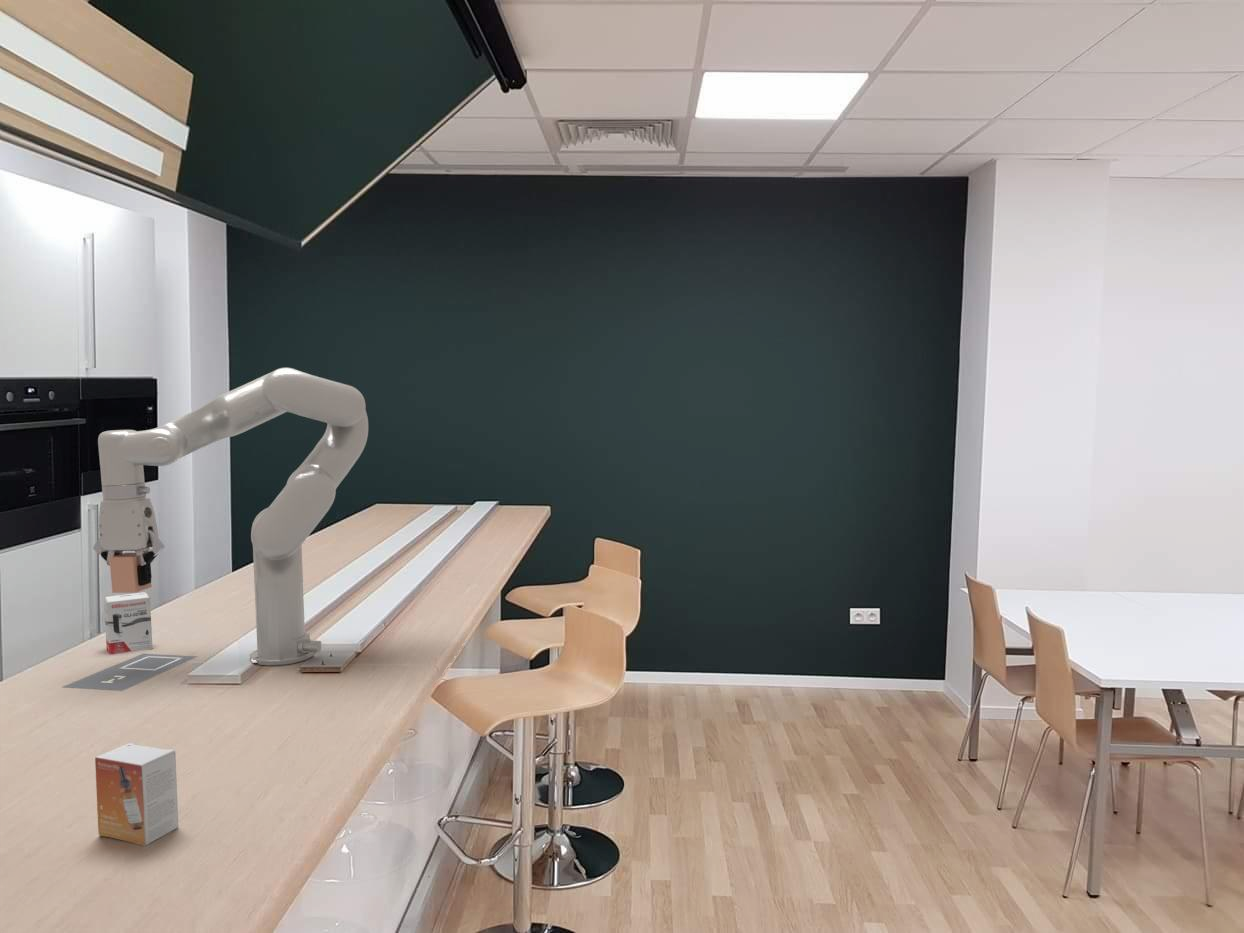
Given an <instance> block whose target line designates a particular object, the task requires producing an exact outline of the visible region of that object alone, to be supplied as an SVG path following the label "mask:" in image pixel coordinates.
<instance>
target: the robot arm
mask: <svg viewBox="0 0 1244 933" xmlns="http://www.w3.org/2000/svg"><path fill="white" fill-rule="evenodd" d="M366 409H367V408H366V401H365V397H364V396H363V394H362V393H361V391H360V390H358V389H357V388H356V387H354V386H352V385H350V384H345V383H342V382H338V381H335V380H331V379H327V378H324V377H319V376H317V375H313V374H309V373H307V372H303V371H301V370H297V369H296V368H292V367H280V368H277V369H275V370H273V371H271V372H269V373H267V374H264V375H262V376H260V377H257V378H256V379H253V380H252V381H249V382H247V383H245V384H243V385H240V386H239V387H236V388H234V389H232V390H229V391H227V392H225V393H223V394H221V395H218V396H217V397H215V398H213V399H212V400H211V401H210V402H207V404H205V405H203V406H201V407H199V408H197V409H195V410H193V411H191V412H189V413H187V414H184V415H182V416H180V417H178V418H176V419H174V420H171V421H169V422H167V423H165V424H162V425H160V426H158V427H155V428H151V429H146V430H138V431H137V430H134V429H116V430H115V429H114V430H113V429H112V430H106V431H103V432H101V433H100V434H99V435H98V438H97V445H98V446H97V447H98V456H99V458H98V459H99V466H100V467H99V468H100V479H101V480H100V481H101V492H102V500H101V501H100V504H99V512H98V513H99V514H98V536H99V538H98V539H97V541H96V542H95V544H93V551H95V552H96V553H97V554H98V555H100V557H101V558H102V559H103V560H104V561H105V562H106V565H107V566H109V567H110V560H109V557H113V556H116V555H120V554H123V553H124V552H134V553H136V556H137V558H138V561H139V564H140V565H139V566H137V572H138V584H139V586H143V585H146V584H149V583H151V584H152V566H151V564H152V563H153V562H154V560H155V558H156V557H157V556H158V554H161V552H162V551H163V550H164V549H165V544H164V543H163V542H162V541H161V540H160V539H159V530H158V525H157V524H158V523H157V517H156V515H155V514H156V513H155V510H154V506H153V504H152V503H153V502H152V500H151V498H147V494H150V492H151V488H150V487H149V486H146V482H145V472H144V466H154V467H166V466H170V465H172V464H174V463H175V462H176V461H178V460H179V459H181V458H184V457H185V456H188V455H189V454H191V453H194V452H195V451H198V450H200V449H202V448H204V447H206V446H209V445H211V444H213V443H216V442H219V441H220V440H223V439H227V438H231V437H236V436H237V435H240V434H242V433H245V432H247V431H249V430H251V429H253V428H255V427H258V426H259V425H262V424H264V423H265V422H268V421H271V420H272V419H275V418H276V417H278V416H281V415H283V414H285V413H291V414H294V415H297V416H300V417H303V418H304V417H305V418H308V419H312V420H314V421H315V420H316V421H319V422H323V423H326V425H327V426H326V429H325V432H324V434H323V435H322V437H321V438H320V440H319V441H318V442H317V443H316V445H315V447H314V448H313V450H311V452H310V453H309V454H308V456H307V457H306V458H305V459H304V461H303V462H302V463H301V464H300V465H299V467H297V469H295V470H294V471H293V472H292V473H291V475H290V476H289V477H288V479H287V481H286V484H285V486H284V487H283V488H282V489H281V491H280V492H279V494H278V495H277V496H276V497H275V499H274V500H273V501H272V502H271V503H270V505H269V506H268V507H266V508H264V509H263V510H261V511H260V512H259V513H258V514H257V515H256V516H255V518H254V520H253V522H252V524H251V525H252V526H251V530H250V532H251V533H250V539H251V543H252V551H253V552H252V558H253V578H254V579H253V580H254V582H253V583H254V602H255V622H256V624H255V625H256V642H257V644H256V646H257V647H256V648H257V649H255V650H254V651H252V652H250V654H249V660H250V659H253V660H256V661H257V663H258V664H257V665H260V666H281V665H282V666H284V665H291V664H296V663H299V662H304V661H306V660H309V659H310V658H312V657H313V656H314V654H315V653H320V652H321V651H322V641H321V640H312V639H311V634H310V633H306V626H305V604H304V603H305V602H304V600H305V598H304V575H303V574H304V572H303V571H304V570H303V551H302V550H303V549H302V548H303V546H302V545H303V544H304V542H305V541H306V540H307V538H309V536H310V534H311V533H312V532H313V531H314V530H315V528H316V527H317V526H318V524H319V523H320V522H321V521H322V520H323V518H324V517H325V516H326V514H327V513H328V512H329V510H330V509H331V507H332V505H333V504H334V501H335V498H336V492H337V491H336V490H337V489H338V487H339V485H340V484H341V483H342V481H344V479H345V477H346V476H347V475H348V474H349V472H350V471H351V469H352V468H353V467H354V466H355V464H356V462H357V461H358V459H360V456H361V455H362V453H363V451H364V449H365V447H366V444H367V441H368V437H369V418H368V413H367V410H366ZM150 548H151V549H150ZM143 553H144V554H143ZM144 556H145V557H144Z"/></svg>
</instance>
